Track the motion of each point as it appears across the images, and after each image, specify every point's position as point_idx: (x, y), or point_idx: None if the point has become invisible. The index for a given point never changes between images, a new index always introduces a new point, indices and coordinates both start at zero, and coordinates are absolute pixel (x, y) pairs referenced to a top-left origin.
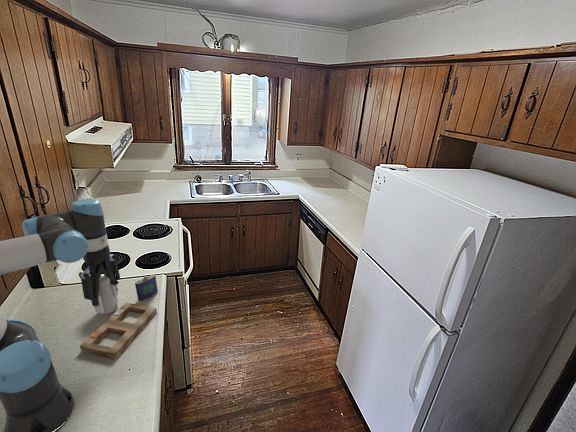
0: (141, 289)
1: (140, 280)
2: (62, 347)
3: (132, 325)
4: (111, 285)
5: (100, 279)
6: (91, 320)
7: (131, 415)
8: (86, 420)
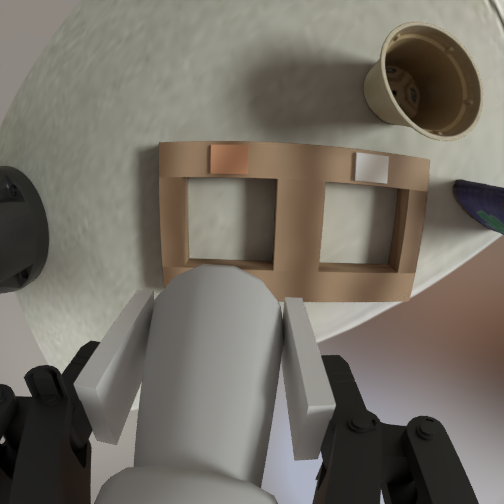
0: (489, 210)
1: None
2: (170, 65)
3: (306, 273)
4: (304, 443)
5: None
6: (321, 62)
7: None
8: (35, 320)
